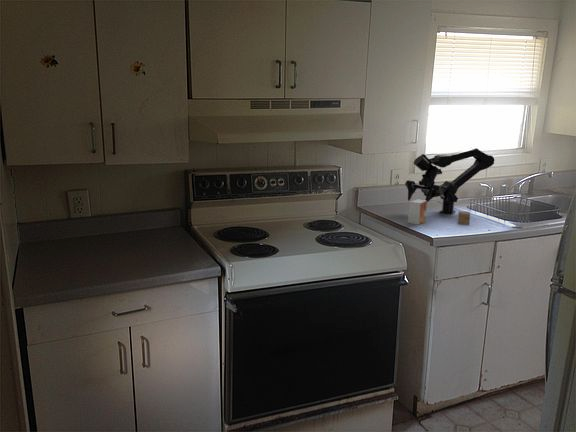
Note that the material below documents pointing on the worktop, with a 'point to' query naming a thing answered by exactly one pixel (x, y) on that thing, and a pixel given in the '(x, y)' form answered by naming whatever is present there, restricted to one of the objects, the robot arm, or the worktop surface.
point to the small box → (417, 211)
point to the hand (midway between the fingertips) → (416, 201)
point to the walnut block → (463, 217)
